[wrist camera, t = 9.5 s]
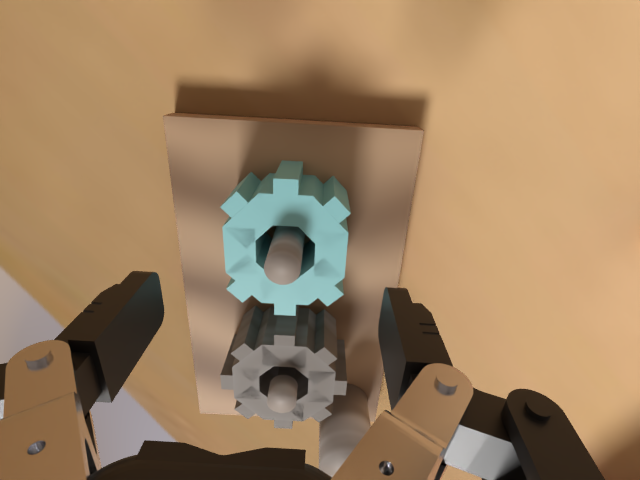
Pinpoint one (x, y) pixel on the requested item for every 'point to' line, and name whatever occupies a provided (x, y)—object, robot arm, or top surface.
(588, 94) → the top surface
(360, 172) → the peg board
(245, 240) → the teal cog
